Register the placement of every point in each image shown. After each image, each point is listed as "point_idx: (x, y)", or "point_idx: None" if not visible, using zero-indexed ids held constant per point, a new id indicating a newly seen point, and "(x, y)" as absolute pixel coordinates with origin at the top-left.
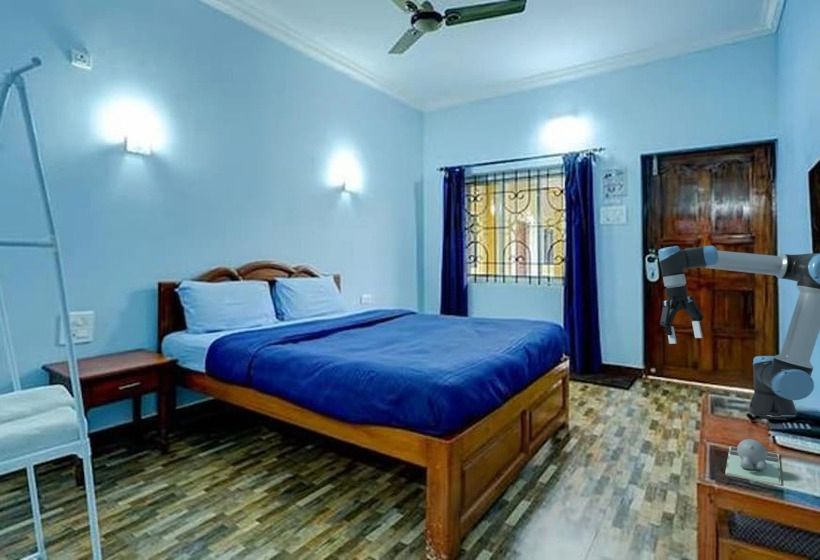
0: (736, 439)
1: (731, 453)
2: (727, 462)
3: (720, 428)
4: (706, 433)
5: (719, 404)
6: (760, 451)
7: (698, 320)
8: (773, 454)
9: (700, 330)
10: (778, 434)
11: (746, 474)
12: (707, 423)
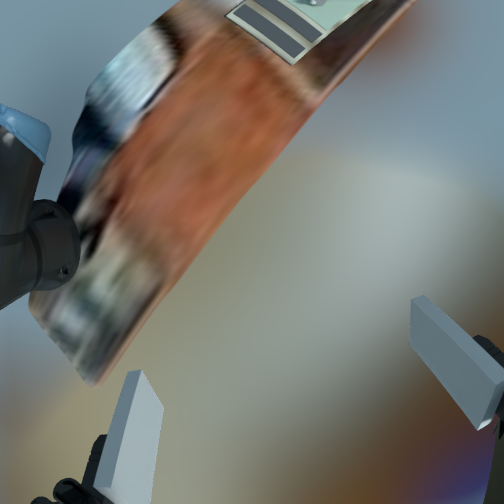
0: (238, 102)
1: (319, 33)
2: (352, 13)
3: (218, 177)
4: (277, 153)
5: (105, 336)
6: None
7: (95, 496)
8: (241, 12)
9: (121, 413)
10: (125, 115)
11: None
12: (222, 219)
